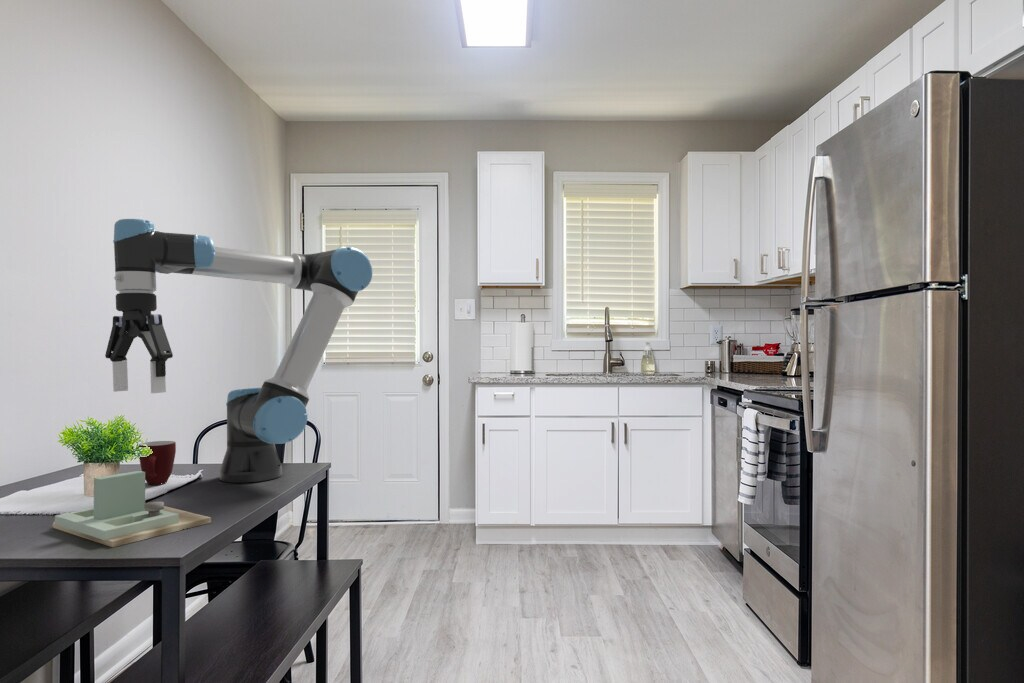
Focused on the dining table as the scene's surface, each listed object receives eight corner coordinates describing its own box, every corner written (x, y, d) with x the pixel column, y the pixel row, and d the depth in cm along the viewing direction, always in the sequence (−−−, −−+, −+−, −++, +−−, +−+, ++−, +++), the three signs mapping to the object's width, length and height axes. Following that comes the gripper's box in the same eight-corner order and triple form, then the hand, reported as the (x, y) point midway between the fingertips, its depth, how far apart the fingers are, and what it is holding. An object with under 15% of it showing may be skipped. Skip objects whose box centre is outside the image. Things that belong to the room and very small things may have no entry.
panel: (127, 509, 130) (127, 464, 130) (178, 522, 120) (178, 474, 120) (54, 524, 119) (55, 475, 119) (104, 540, 109) (104, 487, 109)
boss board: (149, 507, 135) (149, 485, 135) (211, 522, 124) (211, 498, 124) (52, 527, 120) (52, 503, 120) (112, 547, 108) (112, 520, 108)
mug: (173, 487, 154) (173, 446, 154) (134, 490, 151) (135, 448, 151) (176, 478, 164) (177, 440, 164) (140, 481, 161) (141, 442, 161)
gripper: (85, 294, 139) (88, 391, 139) (154, 288, 127) (157, 395, 127) (120, 296, 145) (123, 388, 146) (189, 290, 133) (192, 391, 134)
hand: (139, 392), depth 136 cm, fingers open, 13 cm apart
